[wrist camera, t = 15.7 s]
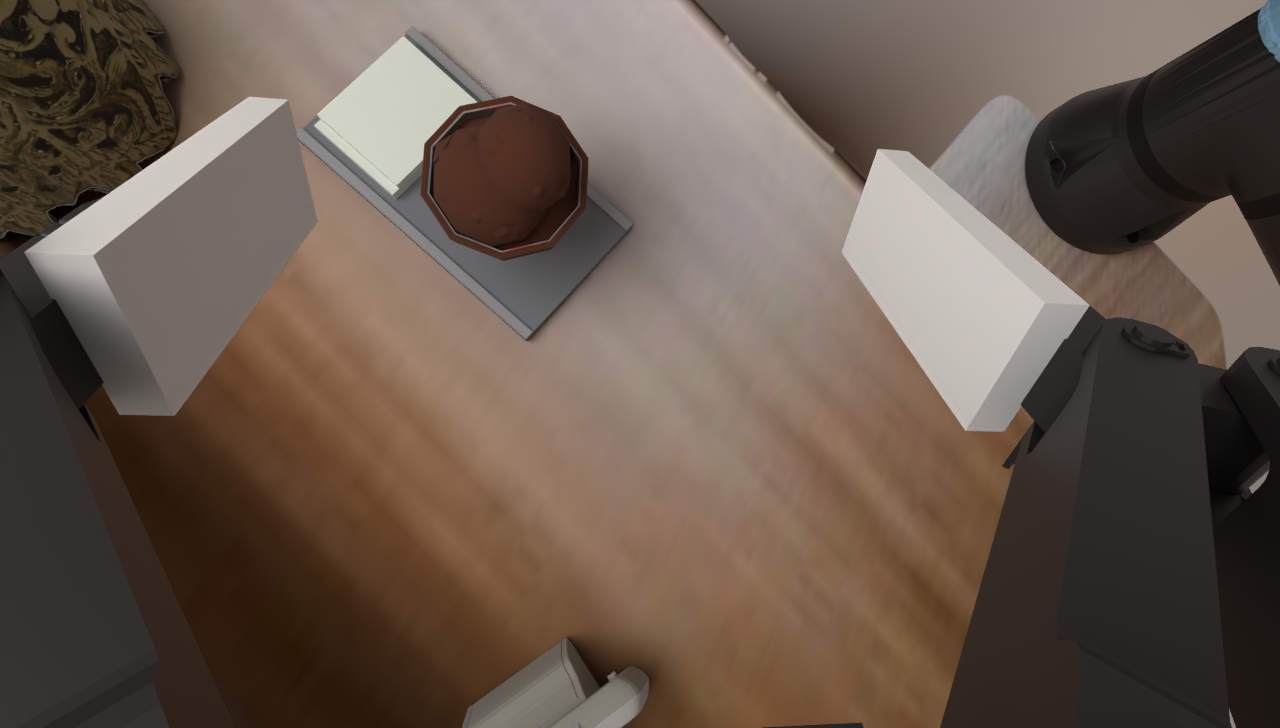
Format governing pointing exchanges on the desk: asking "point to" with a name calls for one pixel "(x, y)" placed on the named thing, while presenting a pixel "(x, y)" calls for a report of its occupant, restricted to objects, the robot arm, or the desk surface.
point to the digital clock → (561, 696)
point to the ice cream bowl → (504, 177)
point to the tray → (504, 287)
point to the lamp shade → (76, 103)
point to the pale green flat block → (392, 115)
